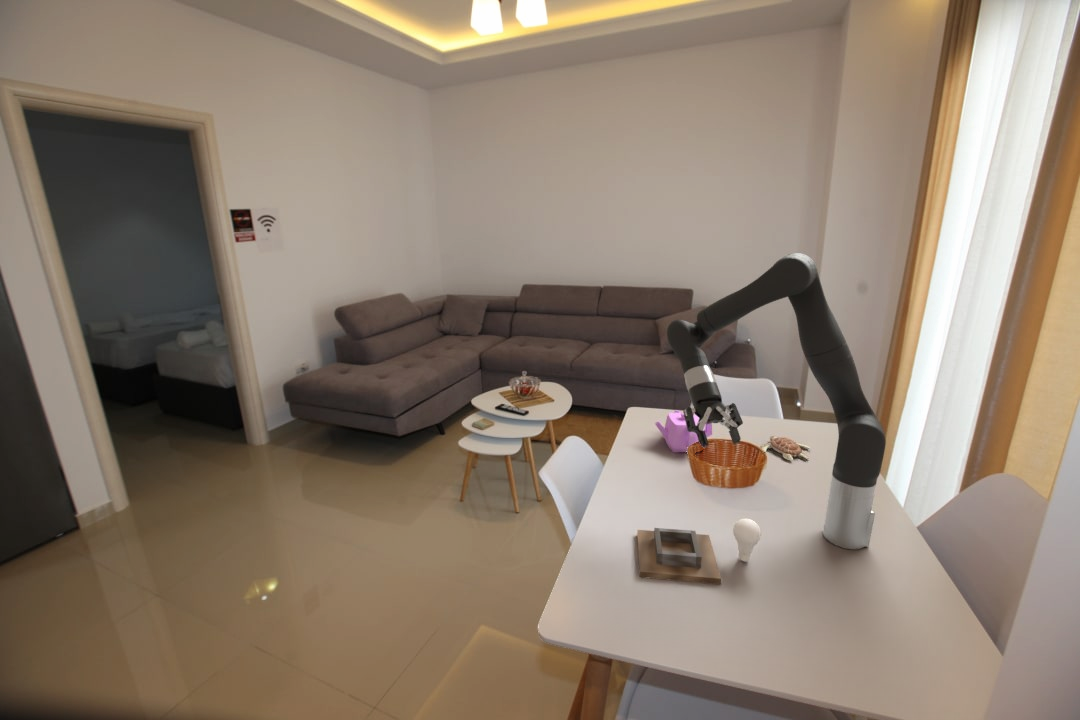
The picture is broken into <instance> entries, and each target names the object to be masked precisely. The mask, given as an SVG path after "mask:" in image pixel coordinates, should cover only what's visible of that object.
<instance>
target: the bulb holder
mask: <svg viewBox="0 0 1080 720" xmlns="http://www.w3.org/2000/svg"><path fill="white" fill-rule="evenodd" d="M653 529H654V530H647V529H646V530H645V529H637V534H636V535H637V536H638V537H637V552H638V568H639V569H638V570H639V571H638V572H639V578H645V577H650V578H649V579H656V578H661V579H660V580H667V579H670V581H678V580H681V581H680V582H691V583H692V582H693V583H703V584H713V585H715V584H716V585H722V576H721V572H720V569H719V566H718V562H717V558H716V555H715V551H714V547H713V545H712V540H711V537H710V534H699V533H697V532H696V530H688V529H687V530H686V529H677V528H665V527H664V528H661V527H654V528H653Z"/></svg>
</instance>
